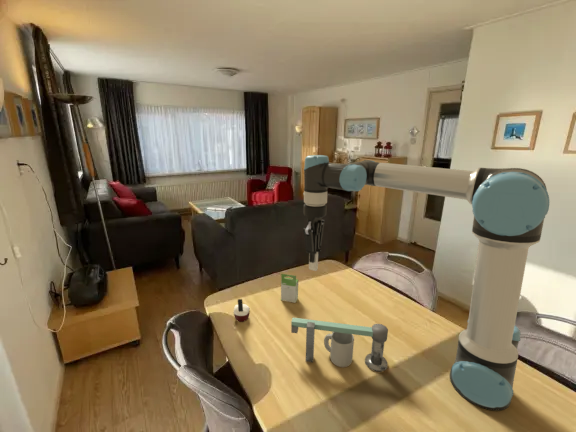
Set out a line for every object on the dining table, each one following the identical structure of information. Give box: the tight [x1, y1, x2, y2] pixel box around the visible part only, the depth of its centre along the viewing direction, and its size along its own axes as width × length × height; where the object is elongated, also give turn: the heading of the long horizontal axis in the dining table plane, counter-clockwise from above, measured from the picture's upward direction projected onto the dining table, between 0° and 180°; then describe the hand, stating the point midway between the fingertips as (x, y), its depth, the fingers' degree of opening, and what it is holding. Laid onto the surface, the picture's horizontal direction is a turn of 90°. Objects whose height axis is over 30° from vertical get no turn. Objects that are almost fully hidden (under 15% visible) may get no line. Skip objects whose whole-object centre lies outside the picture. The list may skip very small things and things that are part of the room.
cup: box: [323, 331, 355, 368], centre depth 93 cm, size 7×10×9 cm
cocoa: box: [233, 298, 251, 323], centre depth 112 cm, size 10×6×12 cm, turn 164°
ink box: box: [280, 273, 299, 304], centre depth 125 cm, size 7×4×13 cm, turn 72°
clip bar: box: [290, 317, 389, 343], centre depth 91 cm, size 30×5×5 cm, turn 79°
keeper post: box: [305, 322, 316, 363], centre depth 92 cm, size 2×2×14 cm
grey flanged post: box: [364, 339, 388, 373], centre depth 91 cm, size 7×7×10 cm
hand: (313, 269), depth 98 cm, fingers closed
